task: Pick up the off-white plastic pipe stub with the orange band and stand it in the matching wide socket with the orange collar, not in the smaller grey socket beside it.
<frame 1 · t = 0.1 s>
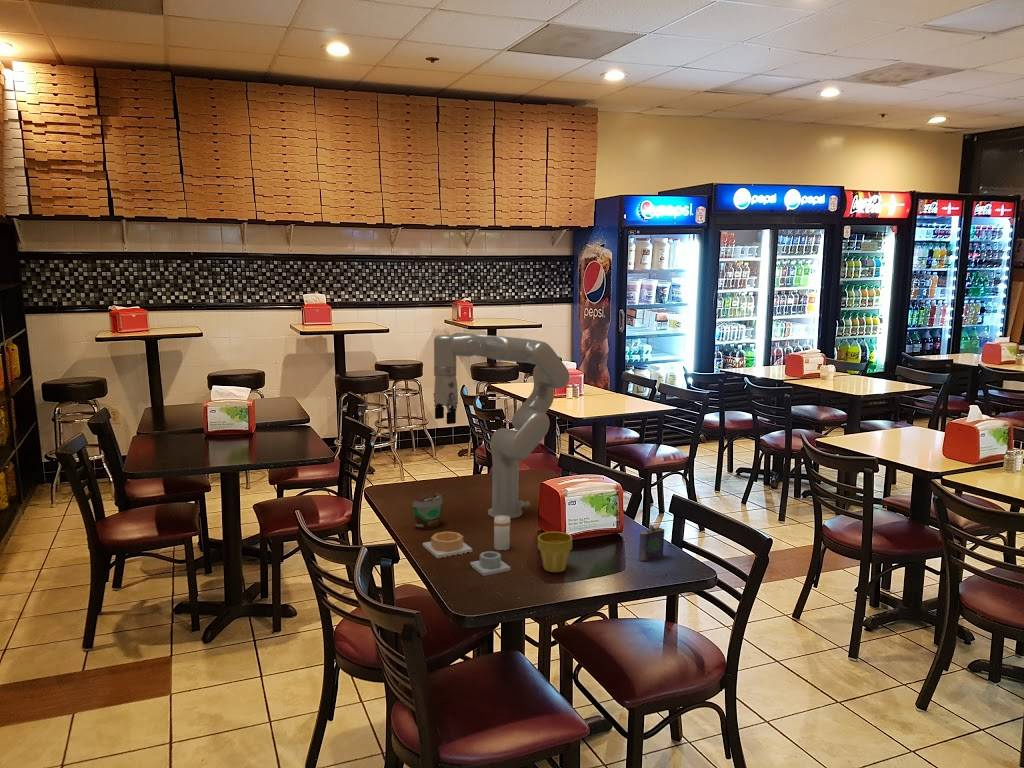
hand: (445, 421, 257), 37 cm above the table, tool pointing down, fingers open, 9 cm apart
wide socket: (447, 548, 239), on the table
narrow socket: (490, 567, 224), on the table
food container: (431, 526, 260), on the table
plant pot: (554, 568, 224), on the table
flask: (650, 558, 233), on the table
pipe: (501, 547, 241), on the table
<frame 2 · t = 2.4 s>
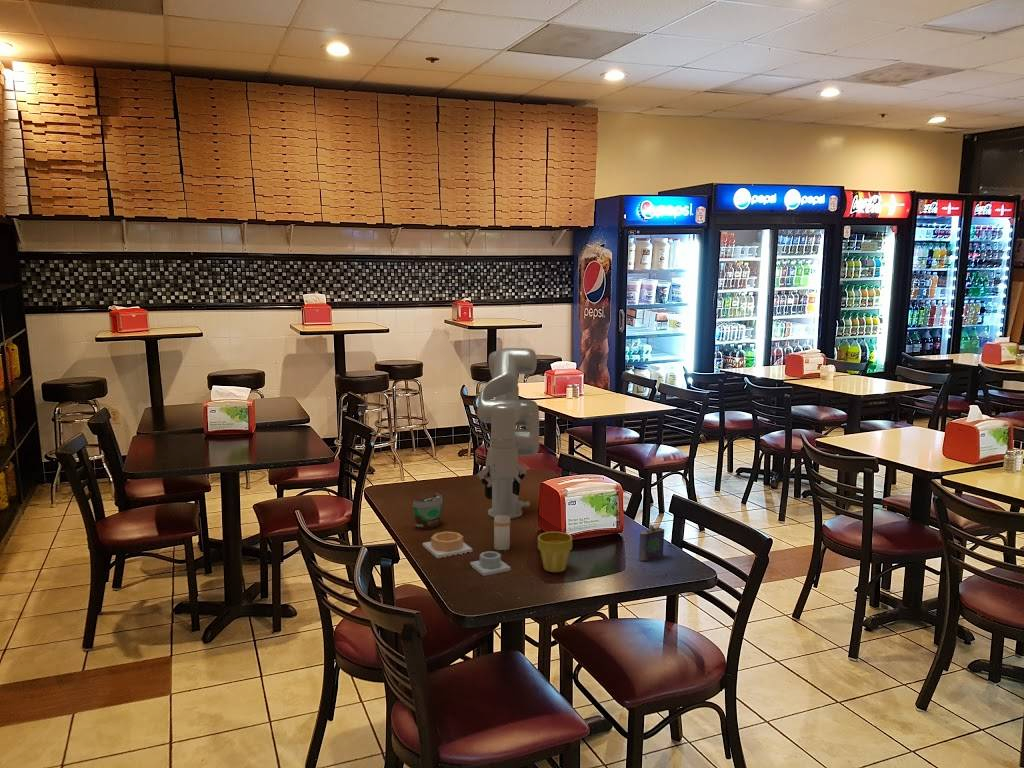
hand: (502, 496, 237), 17 cm above the table, tool pointing down, fingers open, 9 cm apart
nothing on the table moved.
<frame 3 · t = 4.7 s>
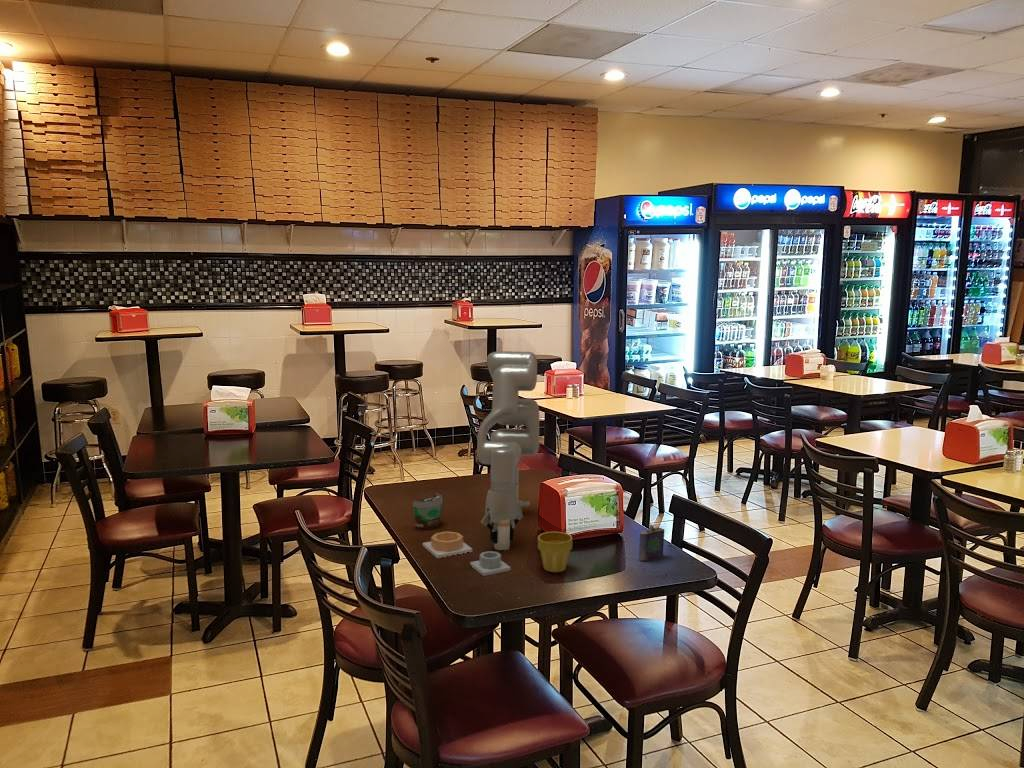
hand: (501, 540, 240), 2 cm above the table, tool pointing down, fingers closed on pipe, 5 cm apart
pipe: (501, 547, 241), on the table, touching gripper
everything else where it was.
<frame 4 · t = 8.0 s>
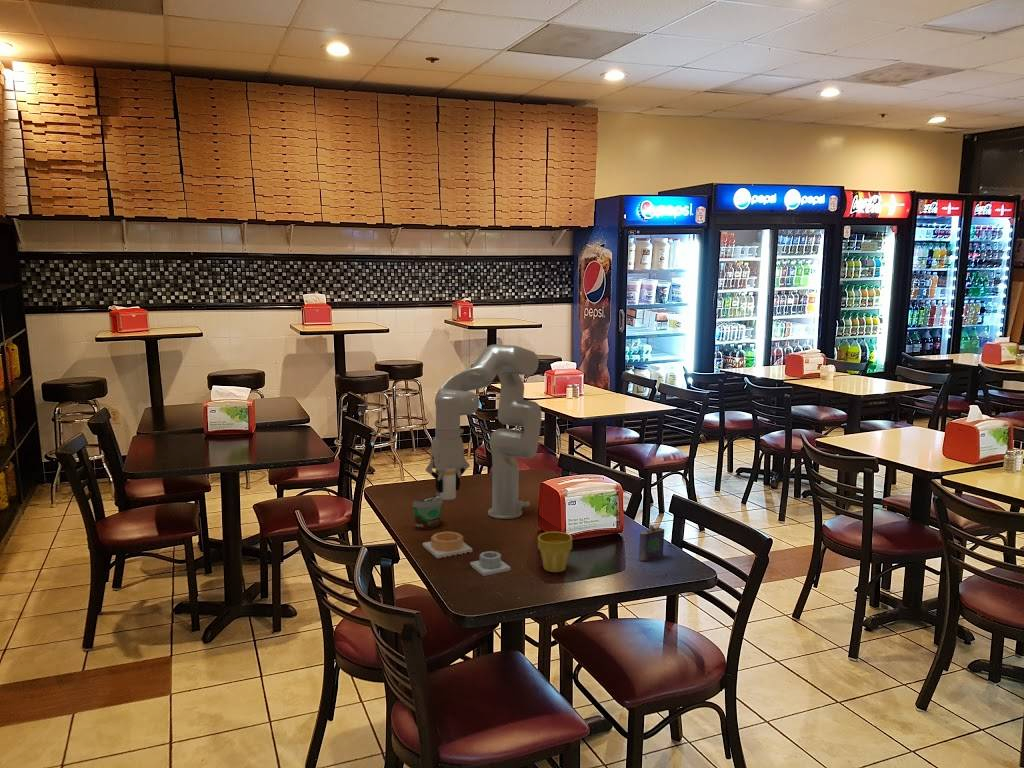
hand: (447, 489, 236), 19 cm above the table, tool pointing down, fingers closed on pipe, 5 cm apart
pipe: (448, 497, 236), point 17 cm above the table, touching gripper
everything else where it was.
when the fingers open (5 cm above the table, at t = 11.6 s): pipe drops 1 cm, resting on wide socket.
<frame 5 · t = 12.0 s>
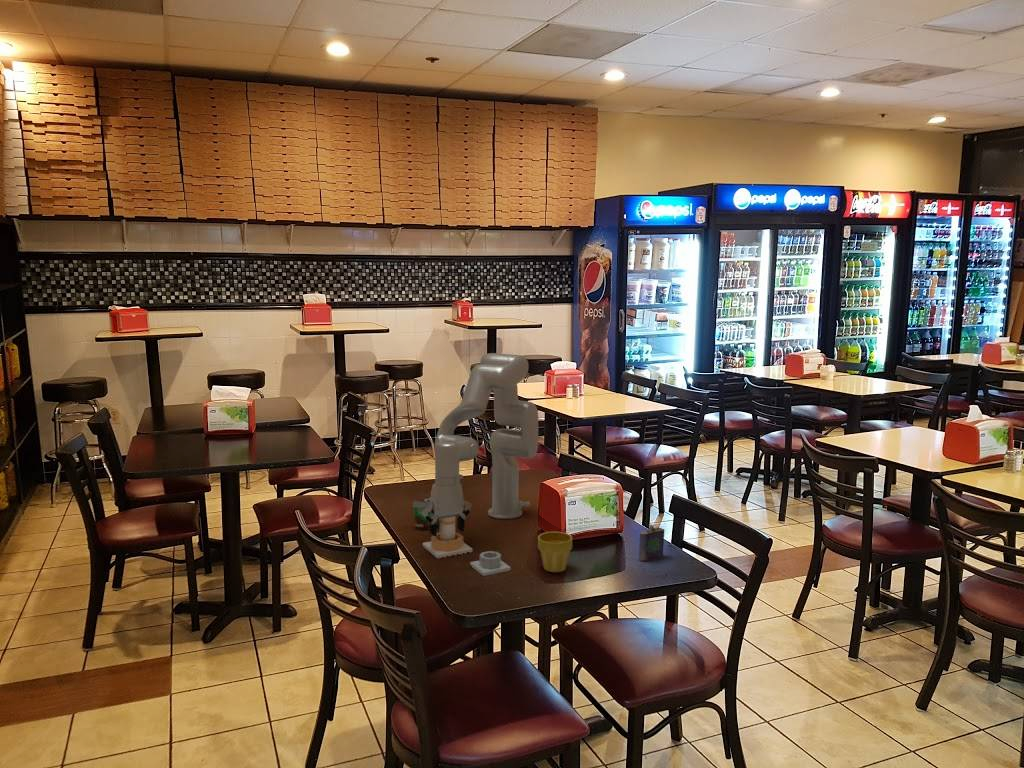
hand: (447, 532, 238), 5 cm above the table, tool pointing down, fingers open, 9 cm apart
pipe: (447, 545, 239), point 1 cm above the table, touching wide socket
everything else where it was.
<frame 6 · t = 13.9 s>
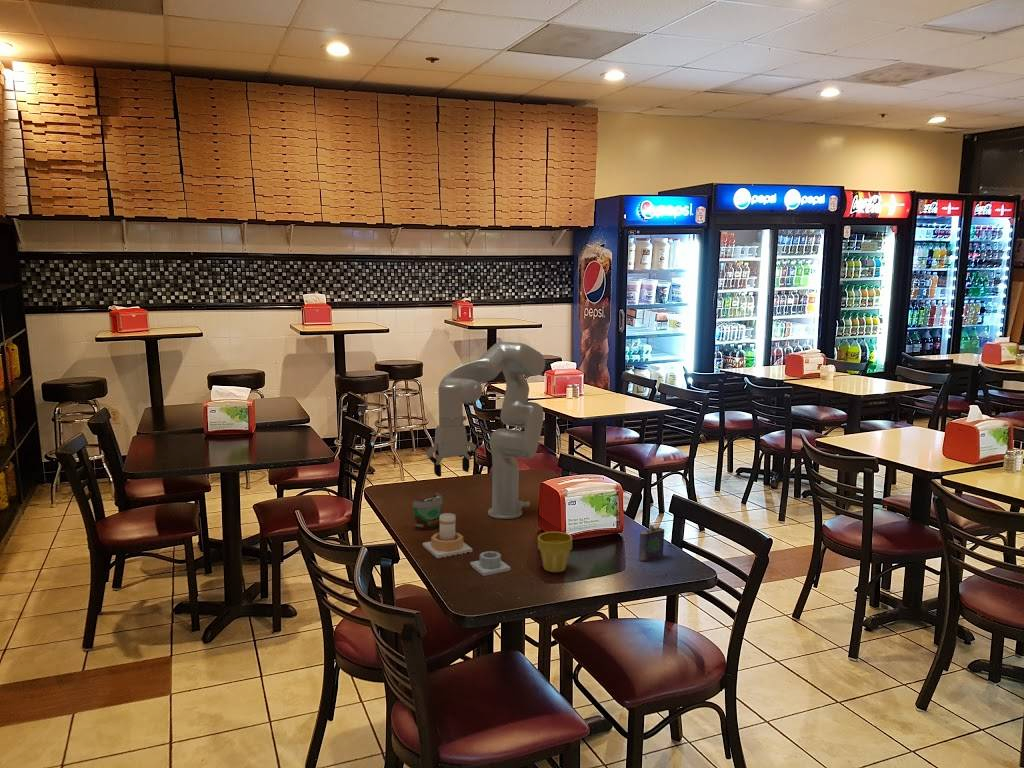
hand: (452, 473, 241), 23 cm above the table, tool pointing down, fingers open, 9 cm apart
nothing on the table moved.
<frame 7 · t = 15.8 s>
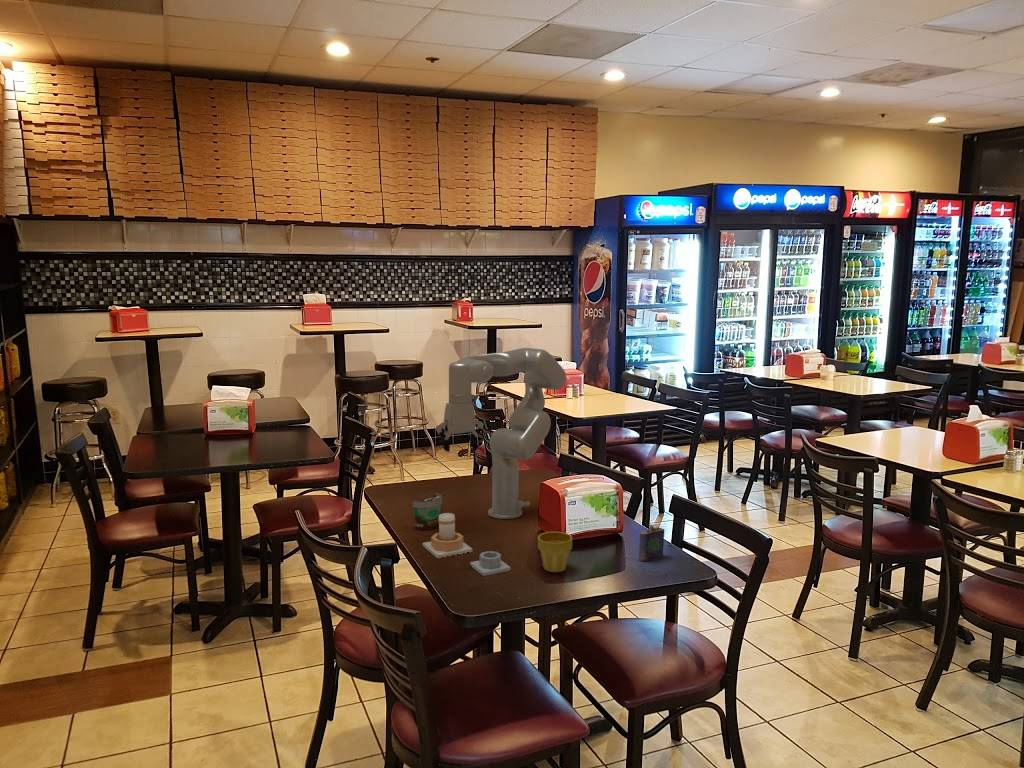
hand: (460, 449, 252), 28 cm above the table, tool pointing down, fingers open, 9 cm apart
nothing on the table moved.
at the end: pipe 0.0 cm off-centre on the wide socket, point 1.1 cm above the wide socket's base; pipe tilted 1°; the gripper is holding nothing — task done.
